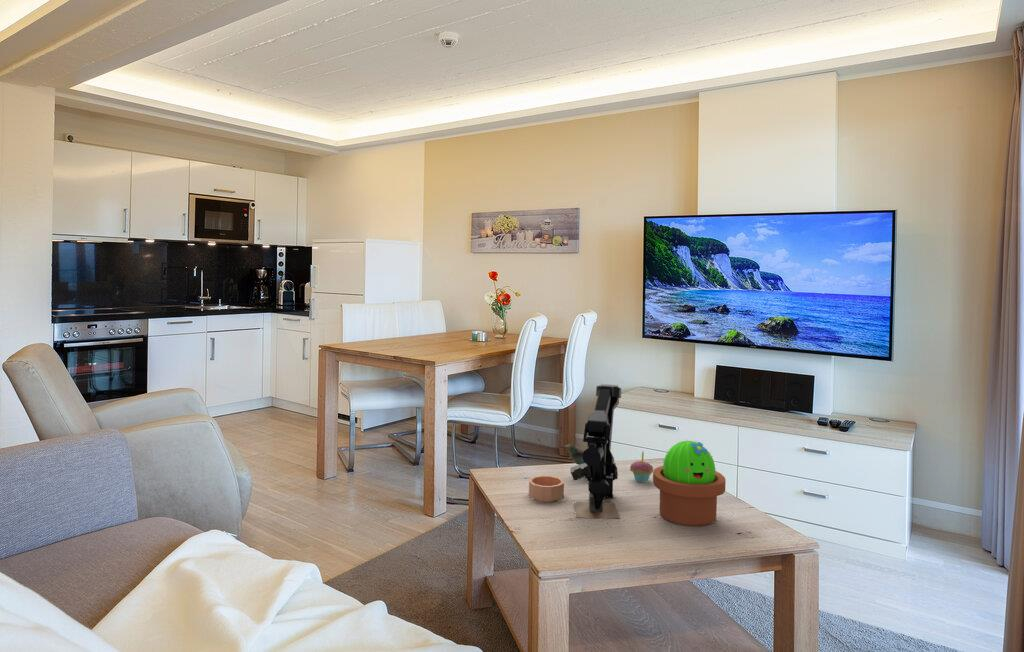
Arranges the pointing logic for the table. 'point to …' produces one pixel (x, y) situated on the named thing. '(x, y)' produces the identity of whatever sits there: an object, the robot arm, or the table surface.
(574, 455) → the bird figurine
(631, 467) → the cupcake
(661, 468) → the potted cactus
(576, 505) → the lid
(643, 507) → the table surface
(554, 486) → the bowl
